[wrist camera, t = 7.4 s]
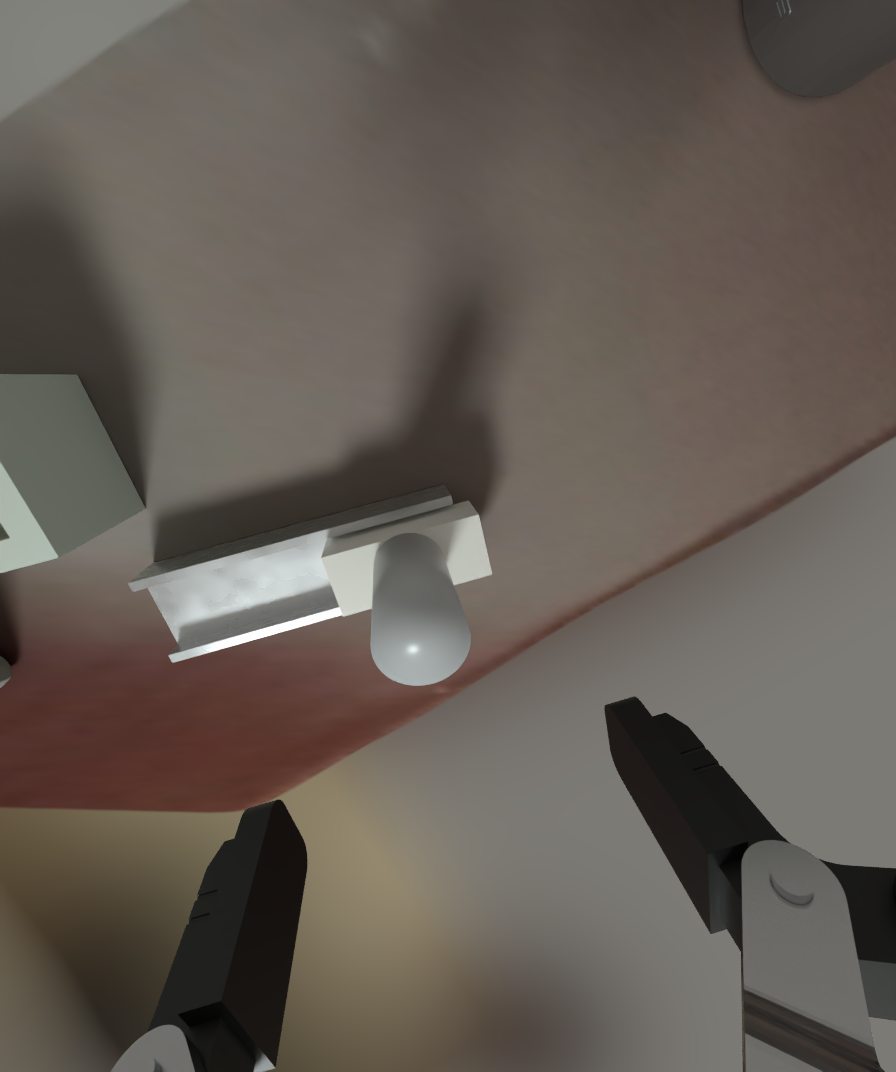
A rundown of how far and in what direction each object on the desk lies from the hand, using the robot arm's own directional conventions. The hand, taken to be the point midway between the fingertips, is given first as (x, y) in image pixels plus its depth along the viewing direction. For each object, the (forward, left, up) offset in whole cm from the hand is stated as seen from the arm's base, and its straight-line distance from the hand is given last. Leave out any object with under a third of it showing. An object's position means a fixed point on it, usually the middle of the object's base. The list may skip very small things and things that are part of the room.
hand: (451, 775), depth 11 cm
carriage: (0, 0, -15) cm, 15 cm away
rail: (+6, 0, -17) cm, 18 cm away
